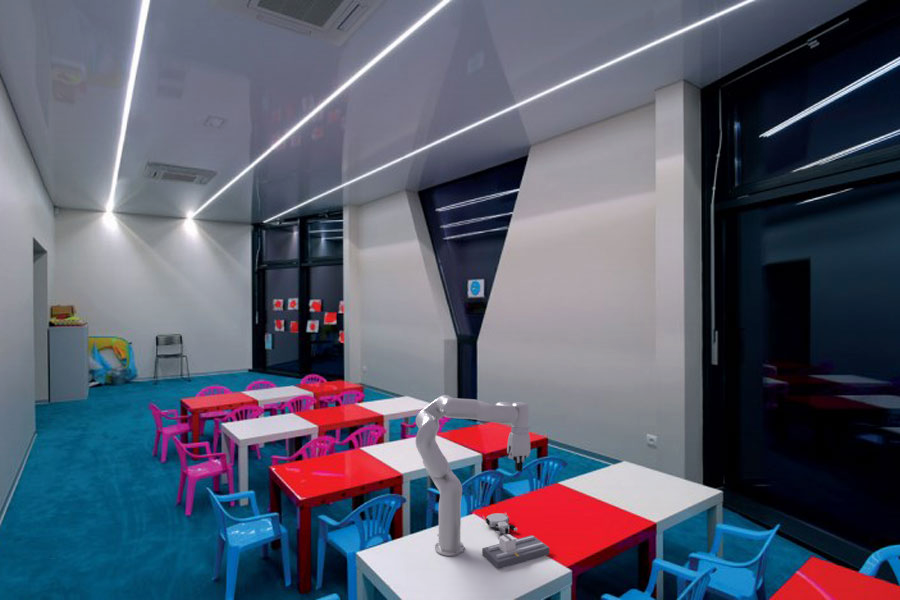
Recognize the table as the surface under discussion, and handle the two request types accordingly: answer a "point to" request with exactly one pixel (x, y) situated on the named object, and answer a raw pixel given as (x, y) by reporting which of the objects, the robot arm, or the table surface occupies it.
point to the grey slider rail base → (516, 552)
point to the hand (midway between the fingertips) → (518, 470)
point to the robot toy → (499, 523)
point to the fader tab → (507, 543)
